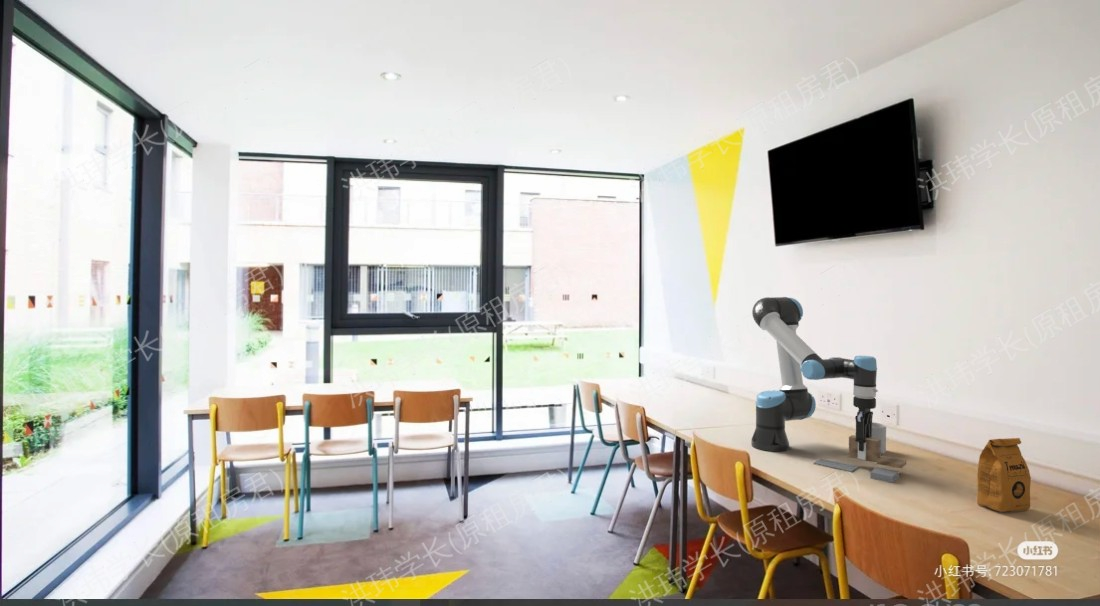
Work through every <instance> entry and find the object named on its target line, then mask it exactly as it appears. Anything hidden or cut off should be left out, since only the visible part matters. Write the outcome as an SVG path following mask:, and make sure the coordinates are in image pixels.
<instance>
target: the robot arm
mask: <svg viewBox="0 0 1100 606" xmlns="http://www.w3.org/2000/svg"><path fill="white" fill-rule="evenodd" d="M751 313H752V318H753V320H754V322H755V324H756V325H757V326H758V327H759V328H760V329H761V330H762V331H766V332H767V333H768V334H770V336H771V337H772V338H773V339H774V340H775V342H776V349H777V355H778V356H777V357H778V362H779V370H780V371H779V372H780V378H781V379H780V380H781V386H780V388H779V389H778V390H765V391H761V392H758V394H757V395H756V401H755V429H754V432H753V435H752V438H751V440H750V441H751V447H753V448H755V449H758V450H763V451H768V452H785V451H788V450H789V449H790V441H789V439H788V435H787V432H786V422H789V421H801V420H805V419H809V418H811V416H813V414H814V413H815V411H816V407H817V406H816V405H817V404H816V399H815V397H814V396H813V394H811V392H809V389H808V387H807V386H806V385H805V384H804V382H803V377H804V378H805V379H807V380H813V381H819V380H820V381H821V380H824V379H825V380H827V379H840V378H844V379H850V380H853V395H854V396H853V401H852V406H853V407H855V408H858V411H857V413H856V415H855V418H854V419H855V433H856V440H855V441H856V442H858V459H857V460H860V459H862V460H861V461H865V460H866V441H865V439H866V437H867V438H870V437H872V423H873V415H874V412H873V411H872V409H876V408H877V398H876V397H877V393H878V392H879V391H878V389H877V374H878V373H877V371H878V367H877V364H878V363H877V359H876V358H875V357H874V356H871V355H856V356H854V357H853V358H854V359H850V358H842V357H839V356H838V357H835V356H833V357H832V356H831V357H830V358H825V359H823V358H822V357H821V356H819V355H818V354H817V353H816V352H815V351H814V350H813V349H812V348H811V346H809V345H808V344H807V343H806V342H805V341H804V340H803V339H802V338H801V337H800V336H799V335H798V334H797V329H798V328H799V326H800V325H799V324H800V323H799V322H801V320H802V317H803V316H804V308H803V307H802V304H801V303H800V302H799V301H798V300H797V299H795V298H793V297H787V296H780V297H779V296H778V297H775V296H774V297H763V298H760V299H759V300H757V301H755V303H754V305H753V307H752V312H751Z"/></svg>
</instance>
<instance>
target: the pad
mask: <svg viewBox="0 0 1100 606" xmlns="http://www.w3.org/2000/svg"><path fill="white" fill-rule="evenodd" d="M813 463H814V464H813V465H816V464H818V465H817V466H821V465H822V467H827V468H830V469H835V470H840V471H845V472H850V473H853V472H855V471H856V470H857V469H859V468H860V466H858V465H855V464H849V463H845V462H839V461H836V460H829V459H827V458H820V459H817V460H816V461H814V462H813Z"/></svg>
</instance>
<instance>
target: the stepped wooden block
mask: <svg viewBox="0 0 1100 606" xmlns="http://www.w3.org/2000/svg"><path fill="white" fill-rule="evenodd" d="M855 440H856V436H855V434H854V435H852V434H851V435H850V436H848V458H849V459H855V460H860V461H863V460H862V459H858V442H856V441H855ZM865 441H866V460H864V461H865V462H866V461H867V462H872V463H876V465H880V466H885V467H892V468H897V469H903V468H904V467H905V466H906V465H907V460H906V459H901V458H896V457H890V456H886V455H884V456H883V455H881V440H879V439H873V438H867V437H866V439H865Z"/></svg>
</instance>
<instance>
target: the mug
mask: <svg viewBox="0 0 1100 606" xmlns="http://www.w3.org/2000/svg"><path fill="white" fill-rule="evenodd" d="M854 436H856V432H855V433H854ZM870 438H873V439H879V440H881V454H883V455H884V454H886V453H887V425H885V424H883V423H877V422H872V437H870Z"/></svg>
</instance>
